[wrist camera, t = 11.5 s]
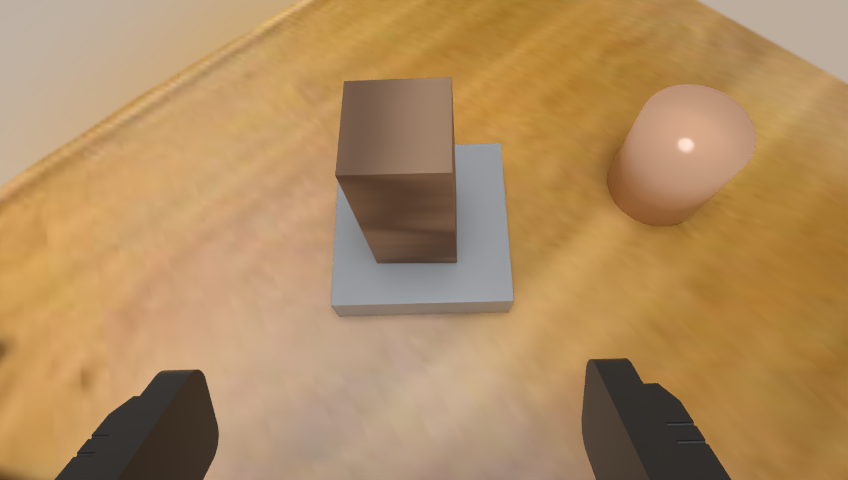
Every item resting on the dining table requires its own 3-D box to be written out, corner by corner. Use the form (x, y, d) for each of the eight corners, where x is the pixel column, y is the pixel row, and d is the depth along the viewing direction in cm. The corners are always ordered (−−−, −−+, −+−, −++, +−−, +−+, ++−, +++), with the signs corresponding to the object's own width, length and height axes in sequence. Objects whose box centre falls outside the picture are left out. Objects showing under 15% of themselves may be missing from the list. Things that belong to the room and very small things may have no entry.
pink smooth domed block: (692, 141, 34) (740, 81, 28) (713, 224, 32) (770, 177, 26) (600, 145, 34) (630, 86, 29) (615, 228, 32) (650, 182, 26)
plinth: (496, 168, 34) (500, 143, 32) (507, 314, 31) (513, 300, 28) (348, 173, 35) (339, 149, 32) (341, 318, 31) (330, 305, 28)
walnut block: (456, 190, 30) (451, 76, 21) (457, 262, 29) (452, 172, 19) (381, 192, 31) (344, 81, 22) (377, 263, 29) (335, 175, 20)
